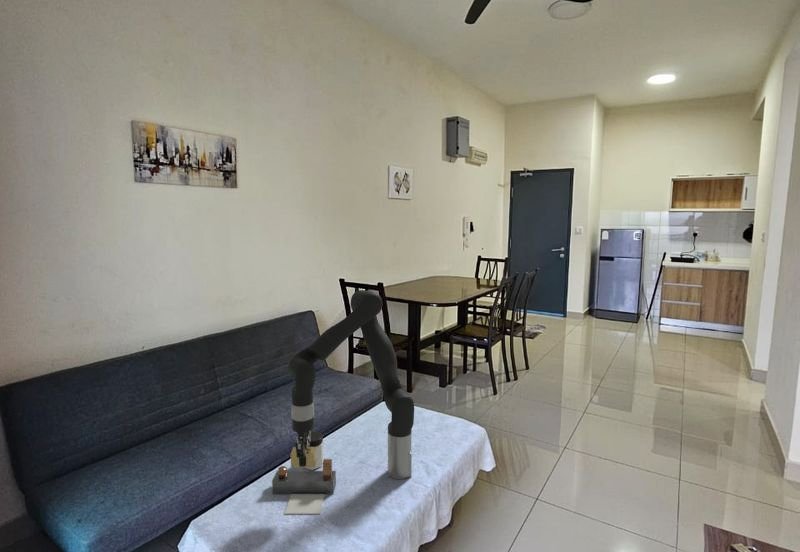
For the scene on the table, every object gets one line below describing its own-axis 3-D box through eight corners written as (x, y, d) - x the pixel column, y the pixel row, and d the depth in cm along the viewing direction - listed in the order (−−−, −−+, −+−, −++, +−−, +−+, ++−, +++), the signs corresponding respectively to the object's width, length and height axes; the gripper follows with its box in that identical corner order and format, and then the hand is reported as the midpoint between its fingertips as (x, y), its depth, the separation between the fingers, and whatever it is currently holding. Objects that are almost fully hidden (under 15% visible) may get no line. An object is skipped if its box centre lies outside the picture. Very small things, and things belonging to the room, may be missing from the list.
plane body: (335, 483, 167) (335, 456, 165) (333, 494, 161) (332, 466, 159) (277, 483, 167) (276, 456, 165) (272, 494, 160) (271, 465, 159)
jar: (306, 472, 174) (305, 443, 172) (298, 462, 180) (297, 435, 179) (327, 465, 179) (326, 437, 177) (319, 456, 185) (318, 429, 184)
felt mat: (324, 495, 160) (324, 494, 160) (320, 514, 150) (320, 513, 150) (291, 495, 160) (291, 494, 160) (284, 514, 150) (284, 513, 150)
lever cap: (316, 460, 155) (316, 446, 154) (314, 467, 150) (314, 453, 150) (293, 460, 155) (293, 446, 154) (291, 467, 150) (290, 453, 150)
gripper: (309, 425, 143) (311, 474, 145) (317, 405, 157) (318, 450, 160) (286, 425, 143) (288, 474, 145) (296, 405, 157) (297, 450, 159)
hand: (304, 461), depth 152 cm, fingers closed on lever cap, 4 cm apart
